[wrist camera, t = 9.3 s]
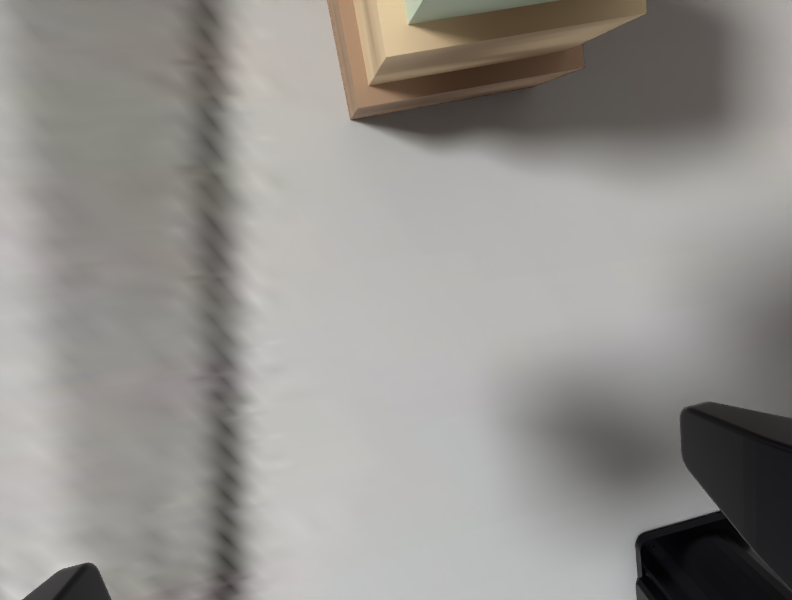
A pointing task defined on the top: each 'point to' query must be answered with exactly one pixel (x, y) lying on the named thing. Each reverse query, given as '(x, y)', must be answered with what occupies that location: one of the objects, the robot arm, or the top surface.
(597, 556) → the top surface
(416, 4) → the sage block
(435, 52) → the oak block
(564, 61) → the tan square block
